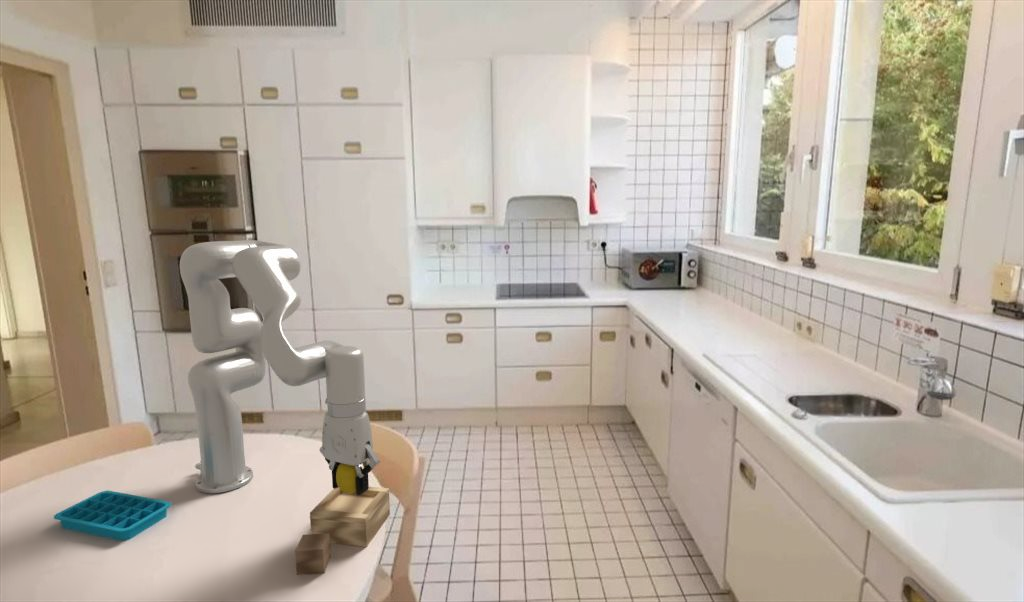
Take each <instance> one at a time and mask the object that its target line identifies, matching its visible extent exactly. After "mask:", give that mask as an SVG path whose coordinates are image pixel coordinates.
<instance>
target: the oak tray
mask: <svg viewBox="0 0 1024 602" xmlns="http://www.w3.org/2000/svg"><path fill="white" fill-rule="evenodd" d="M390 507H391V505H390V488H388V487H386V488H385V487H376V486H369V488H368V490H366V491H365V492H364V493H362V494H361V495H357V494H356V491H355V492H353V493H352V494H348V493H345V492H343V491H341V490H340V489H339V487H338V488H336V489H334V488H332V489H331V491H329V493H328V494H327V495H326V496H324V498H322V500H321V501H320V502H319V503H318V504H317V505H316V506H315V507H314V508H313V509H312V510H311V511H310V512H309V517H310V518H309V520H310V534H328V533H329V534H330V544H338V545H346V546H356V547H362V548H363V547H364V548H367V547H368V546H369V544H370V543H371V542H372V540H373V539H374V537H375V536H376V535H377V533H378V532H379V530H380V529H381V528H382V526H383V525H384V523H386V521H387V520H388V518H389V517H390V515H391V510H390V509H391V508H390Z"/></svg>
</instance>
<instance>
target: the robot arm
mask: <svg viewBox="0 0 1024 602" xmlns="http://www.w3.org/2000/svg"><path fill="white" fill-rule="evenodd" d="M301 268H302V267H301V261H300V258H299V256H298V255H297V253H296V252H295V251H294V249H293V248H290V246H287V245H286V244H285V245H284V244H282V243H281V244H280V243H274V242H273V243H272V242H270V241H269V242H268V241H262V240H258V239H257V240H255V239H248V240H246V239H242V240H218V241H206V242H199V243H196V244H193V245H190V246H188V247H187V248H185V249H184V250H183V252H182V254H181V256H180V260H179V271H180V272H179V273H180V277H181V280H182V282H183V285H184V287H185V291H186V294H187V299H188V311H189V320H190V321H189V322H190V331H191V339H192V344H193V346H194V348H195V350H197V352H199V353H201V354H213V353H219V352H224V351H228V350H232V349H235V351H234V352H230V353H227V354H221V355H218V356H214V357H213V356H212V357H210V358H209V357H208V358H206V359H203V360H201V361H198V362H197V363H196V364H193V366H192V367H191V368H190V369H189V371H188V374H187V380H188V385H189V386H188V387H189V390H190V392H191V395H192V399H193V402H194V409H195V415H196V425H197V434H198V443H199V445H198V446H199V455H200V456H199V457H200V463H199V462H198V463H196V464H195V466H194V467H195V469H197V470H200V471H199V472H200V476H199V477H198V478H196V481H195V489H196V490H198V491H199V492H201V493H206V494H220V493H225V492H230V491H233V490H236V489H238V488H239V489H240V487H243V486H245V485H247V484H248V483H249V482H250V481H251V480H252V478H253V476H254V473H253V472H254V471H253V469H252V468H251V467H249V466H246V458H245V457H246V456H245V445H244V444H245V443H244V433H243V432H244V431H243V419H242V411H241V408H240V406H239V405H238V403H237V402H236V401H235V400H234V399H233V398H232V397H231V395H232V394H233V393H237V392H238V391H242V390H245V389H248V388H251V387H254V386H256V385H259V384H260V383H261V382H262V381H263V380H264V378H265V376H266V371H267V370H266V369H267V364H266V363H268V365H269V367H270V368H271V370H272V371H273V372H274V374H275V376H277V378H278V379H279V380H280V381H282V383H283V384H285V385H287V386H290V387H300V386H303V385H306V384H309V383H311V382H315V381H317V380H320V379H325V384H326V385H325V387H326V390H325V391H326V398H325V400H324V403H325V405H327V411H326V412H325V413H324V416H323V417H324V418H323V423H322V431H321V432H322V437H321V438H322V439H321V440H322V441H321V442H322V445H321V447H320V448H319V452H320V454H321V455H322V456H323V457H324V459H325V461H326V462H327V464H328V470H330V471H331V479H332V480H331V481H332V489H336V488H338V485H337V482H336V472H337V469H338V466H339V465H340V464H341V463H343V464H347V465H351V466H355V468H356V471H357V474H358V476H357V477H356V494H357V495H361V494H362V493H364V492H365V491H366V490H368V488H369V487H370V486H369V473H370V472H372V470H374V468H375V467H376V466H378V465H379V464H380V463H381V460H380V458H379V457H378V455H377V453H376V452H375V451H374V443H373V442H374V441H373V440H374V439H373V431H372V426H371V422H370V421H371V420H370V417H369V413H368V412H367V406H366V388H365V387H366V385H365V384H366V383H365V361H364V359H365V358H364V352H363V350H362V349H361V348H359V347H356V346H351V345H349V346H348V345H347V346H346V345H343V344H340V343H338V342H336V341H333V340H322V341H317V342H314V343H309V344H306V345H305V344H304V345H302V346H299V347H294V348H293V347H292V345H291V344H290V342H289V341H288V340H287V337H286V336H285V334H284V332H283V327H282V322H284V321H285V320H287V319H288V318H289V317H291V316H292V315H293V314H294V313H295V312H296V311H297V310H298V309H299V307H300V306H301V296H300V295H299V293H298V291H297V290H296V289H295V288H294V286H293V284H292V283H291V281H293V280H295V279H296V278H297V277H298V276H299V275H300V272H301ZM230 278H231V279H232V278H237V280H238V281H239V283H240V285H242V288H243V289H244V291H245V292H246V294H247V295H248V297H249V298H250V300H251V301H252V303H253V304H254V306H255V307H256V308H257V310H258V312H259V313H260V315H261V317H262V321H261V318H260V316H259V315H258V314H257V312H255V311H254V310H253V309H252V308H251V309H250V308H246V307H237V308H233V309H231V297H230V293H229V291H228V289H227V287H226V286H225V284H224V283H223V282H222V281H221V280H222V279H230ZM361 466H362V467H361Z"/></svg>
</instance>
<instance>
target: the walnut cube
mask: <svg viewBox="0 0 1024 602" xmlns="http://www.w3.org/2000/svg"><path fill="white" fill-rule="evenodd" d="M294 552H295V553H294V554H295V568H296V572H295V573H296V575H297V576H299V575H317V574H325V573H326V569H327V567H328V565H329V561H330V559H331V557H332V556H331V543H330V534H329V533H328V534H311V533H310V534H302V536H301V538H300V540H299V542H298V544H297V546H296V548H295V549H294Z"/></svg>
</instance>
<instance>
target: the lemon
mask: <svg viewBox="0 0 1024 602" xmlns="http://www.w3.org/2000/svg"><path fill="white" fill-rule="evenodd" d="M361 467H362V468H363V465H361ZM357 476H358V474H357V471H356V468H355V466H351V465H347V464H343V463H341V464H340V465H339V466H338V469H337V472H336V482H337V485H338V487H339V489H340V490H341V491H343V492H345V493H348V494H352V493H353V492H355V491H356V477H357Z"/></svg>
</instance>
